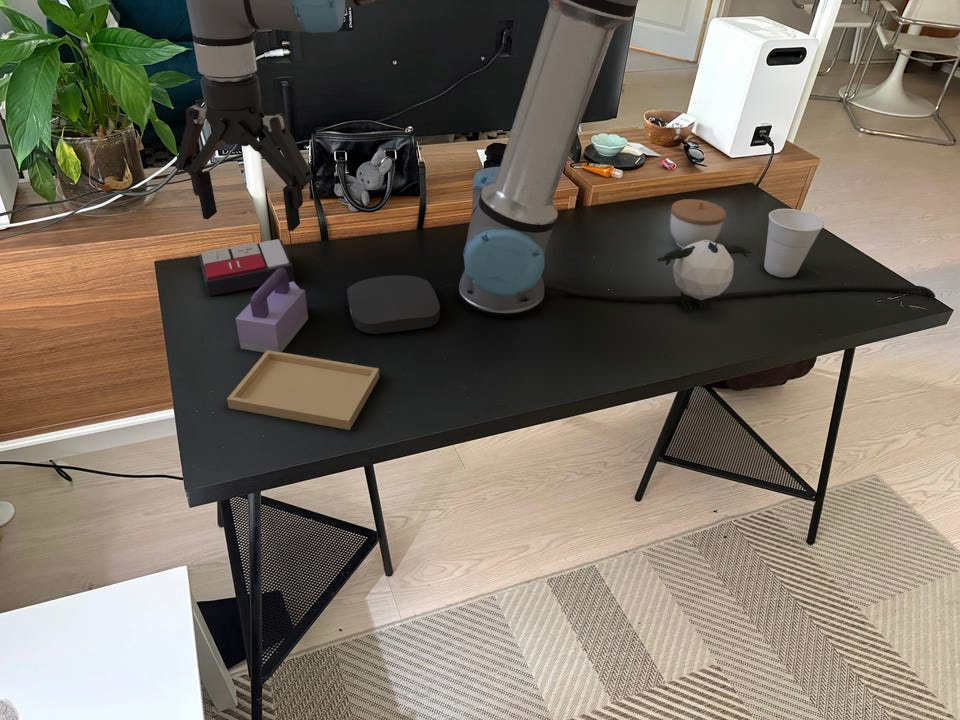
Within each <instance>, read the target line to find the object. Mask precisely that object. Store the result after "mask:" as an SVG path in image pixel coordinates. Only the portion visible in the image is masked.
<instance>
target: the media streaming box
mask: <svg viewBox="0 0 960 720" xmlns="http://www.w3.org/2000/svg"><path fill="white" fill-rule="evenodd" d="M346 296H347V304H348V309H349V313H350V316H351V319H352V322H353V325H354V327H355V328H356V329H357V330H358V331H360V332H361V333H362V332H363V333H366V334H369V335H370V334H371V335H379V334H388V333H389V334H390V333H397V332H404V331H405V332H406V331H413V330H419V329H425V328H429V327H432V326H434V325H436V324H437V323H438V322H439V321H440V318H441V305H440V300H439V299H438V296H437V293H436V292H435V290H434V288H433V286H432V285H431V282H429V281H428V280H427V279H424V278H422V277H418V276H413V275H407V274H406V275H404V274H403V275H402V274H401V275H400V274H399V275H398V274H397V275H384V276H383V275H382V276H377V277H371V278H366V279H362V280H359V281H357V282H355V283H353V284H351V285H350V286H349V287H348V288H347V290H346Z"/></svg>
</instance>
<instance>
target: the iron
mask: <svg viewBox="0 0 960 720" xmlns="http://www.w3.org/2000/svg"><path fill="white" fill-rule="evenodd" d="M306 296H307V295H306V290H305V289H301V288H300V287H299V286H298V285H297V284H296V281H295V282H294V281H293V282H289V278H288V275H287V271H286V270H285V269H284V268H279V269H277V270H276V271H275V272H274V273H273V274H272V275H271V277H270V278H269V279H268V280H267V281H266V282H265V283H264V284H263V285H262V286H259V288H258V289H257V290H256V291H255V292H254V293H253V294H252V295H251V297H250V301H249V304H248V305H246V306H245V308H244V309H243V310H242V311H241V312H240V313H239V314H238V315H237V316H236V317H235V324H236V329H237V335H238V341H239V345H240V346H239V347H240V349H241V350H246V351H252V352H258V353H263V354H264V353H265V352H266V351H267V350H271V351H276V352H282V353H283V351H284V350H285V349H286V348H287V346H288V345H289V344H290V343H291V342H292V340H293V339H294V338H295V336H296V335H297V334H298V333H299V331H300V330H301V328H302V327H303V326H305V324H306V322H307V321H308V320H309V313H308V305H307V297H306Z"/></svg>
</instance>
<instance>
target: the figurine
mask: <svg viewBox="0 0 960 720" xmlns="http://www.w3.org/2000/svg"><path fill="white" fill-rule="evenodd" d="M753 253H754V251H751V250H750V249H747V248H746V247H744V246H742V245H739V244H734V243H731V244H721V243H719V241H718V240H716V242H715V241H714V242H711V241H708V240H702V241H699V242H696V243H692V244H690V245H687V246H686V247H685V248H684V249H683V248H681V249H680V248H675V249H672V250H669V252H667V253H665V254H664V255H663V256H660V257H658V258H656V260H657V261H658V262H666V263H665V265H666V266H668V265H669V264H670V263H671V262H672V260H675V261H674V262H673V263H674V264H673V266H672V274H673V279H674V282H675V285H676V286H677V288H678V289H679V290H680V296H681V301H679V303H680V305H681V306H682V309H683V310H684V311H692V310H693V307H692V305H691V303H689V302H690V301H689V299H690V296H691V297H694V298H696V299H695V300H693V301H694V303H695V304H696V306H697V307H698V308H699V309H707V308H708V306H707V304H706V303H705V301H704V300H703V299H707V298H710V297H714V296H718V295H720V294H721V293H724V291H726V289H728V288H729V286H730V284H731V282H732V280H733V275H734V260H733V258H732V256H731V255H735V254H740V255H742V256H743V257H744V258H745V257H746V258H748V257H749V256H748V254H753Z"/></svg>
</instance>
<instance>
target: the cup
mask: <svg viewBox="0 0 960 720" xmlns="http://www.w3.org/2000/svg"><path fill="white" fill-rule="evenodd" d="M824 227H825V223H824V221H823V220H822V219H821V218H820V217H819V216H818V215H815V214H813V213H812V212H811V213H810V212H807V211H804V210H800V209H796V208H795V209H794V208H776V209H774V210H772V211H770V212H769V213H768V227H767V236H766V237H767V238H766V244H765V245H766V247H765V253H764V255H765V256H764V263H763V268H764V270H765V271H766V272H767V273H768V274H769V275H772V276H774V277H776V278H777V277H778V278H784V279H785V278H786V279H787V278H792V277H794V276H796V275H797V274H798V272H799V270H800V268H801V267H802V265H803V262H805V259H806V257H807V255H808V254H809V252H810V250H811V248H812V246H813V244H814V243H815V241H816V239H817V238H818V236H819V234H820V232H821V230H822V229H823V228H824Z"/></svg>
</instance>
